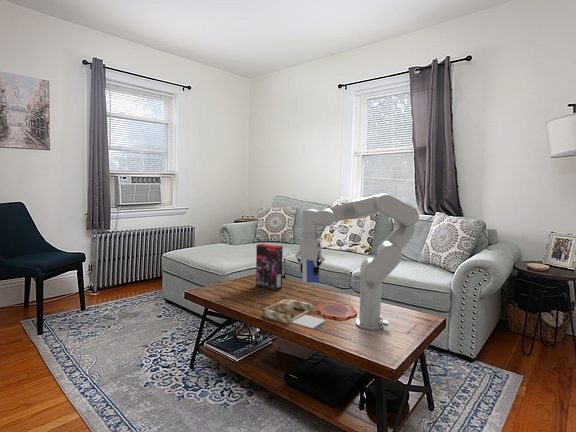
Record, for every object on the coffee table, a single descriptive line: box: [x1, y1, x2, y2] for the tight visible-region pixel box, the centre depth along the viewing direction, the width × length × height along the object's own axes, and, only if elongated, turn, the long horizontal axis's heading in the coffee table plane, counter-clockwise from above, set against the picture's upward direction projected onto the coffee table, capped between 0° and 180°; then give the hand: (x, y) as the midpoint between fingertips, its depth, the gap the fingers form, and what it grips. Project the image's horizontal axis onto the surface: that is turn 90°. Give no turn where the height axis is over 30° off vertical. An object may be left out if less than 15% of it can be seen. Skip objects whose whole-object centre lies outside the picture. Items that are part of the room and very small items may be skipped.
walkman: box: [302, 257, 320, 283], centre depth 164 cm, size 8×3×12 cm, turn 87°
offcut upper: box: [277, 298, 294, 313], centre depth 171 cm, size 6×6×4 cm
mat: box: [290, 314, 326, 330], centre depth 167 cm, size 12×12×1 cm
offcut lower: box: [276, 308, 295, 318], centre depth 172 cm, size 6×6×4 cm
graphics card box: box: [255, 243, 284, 291], centre depth 221 cm, size 17×7×27 cm, turn 54°
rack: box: [262, 298, 313, 324], centre depth 177 cm, size 16×21×4 cm
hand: (309, 273), depth 165 cm, fingers closed on walkman, 6 cm apart
